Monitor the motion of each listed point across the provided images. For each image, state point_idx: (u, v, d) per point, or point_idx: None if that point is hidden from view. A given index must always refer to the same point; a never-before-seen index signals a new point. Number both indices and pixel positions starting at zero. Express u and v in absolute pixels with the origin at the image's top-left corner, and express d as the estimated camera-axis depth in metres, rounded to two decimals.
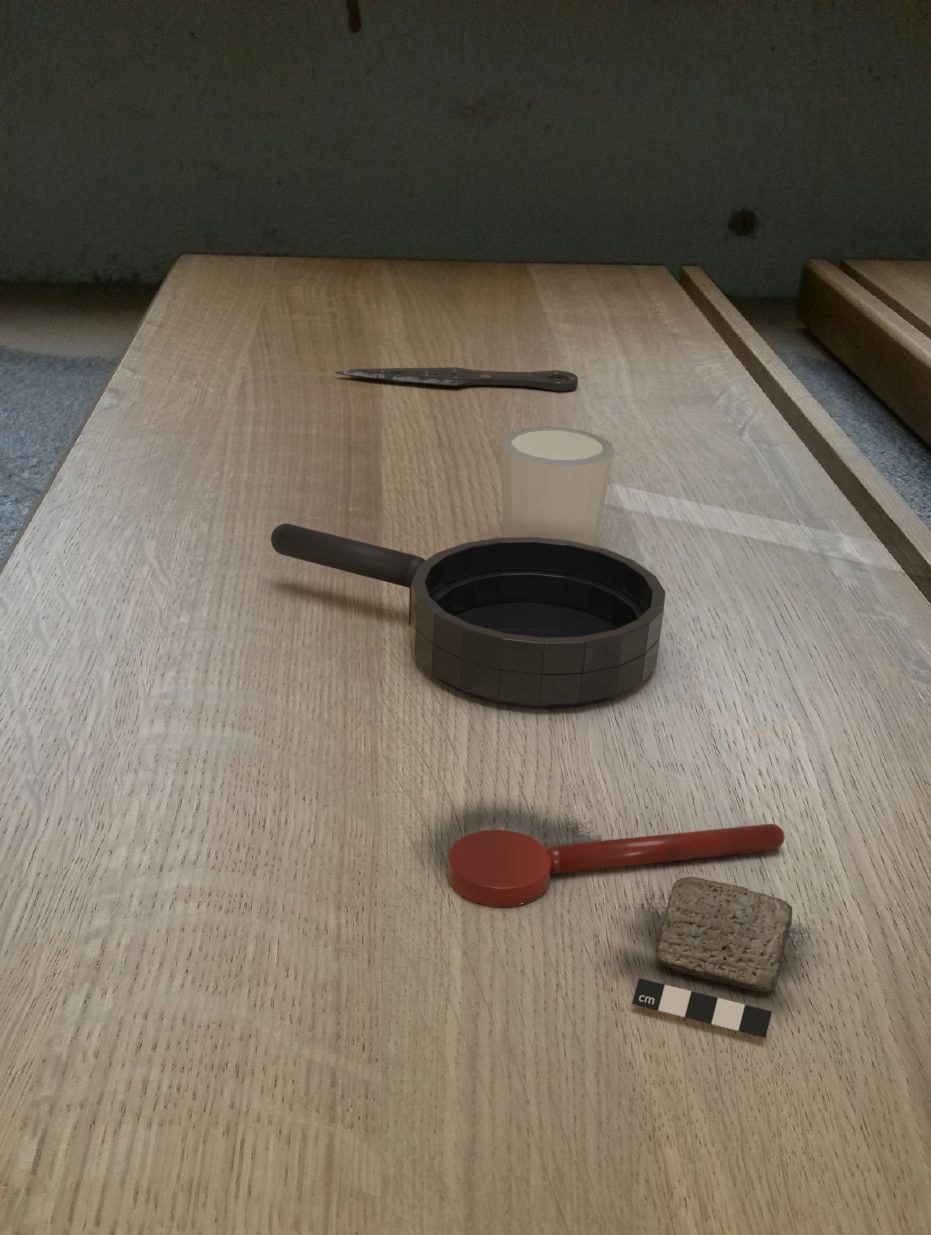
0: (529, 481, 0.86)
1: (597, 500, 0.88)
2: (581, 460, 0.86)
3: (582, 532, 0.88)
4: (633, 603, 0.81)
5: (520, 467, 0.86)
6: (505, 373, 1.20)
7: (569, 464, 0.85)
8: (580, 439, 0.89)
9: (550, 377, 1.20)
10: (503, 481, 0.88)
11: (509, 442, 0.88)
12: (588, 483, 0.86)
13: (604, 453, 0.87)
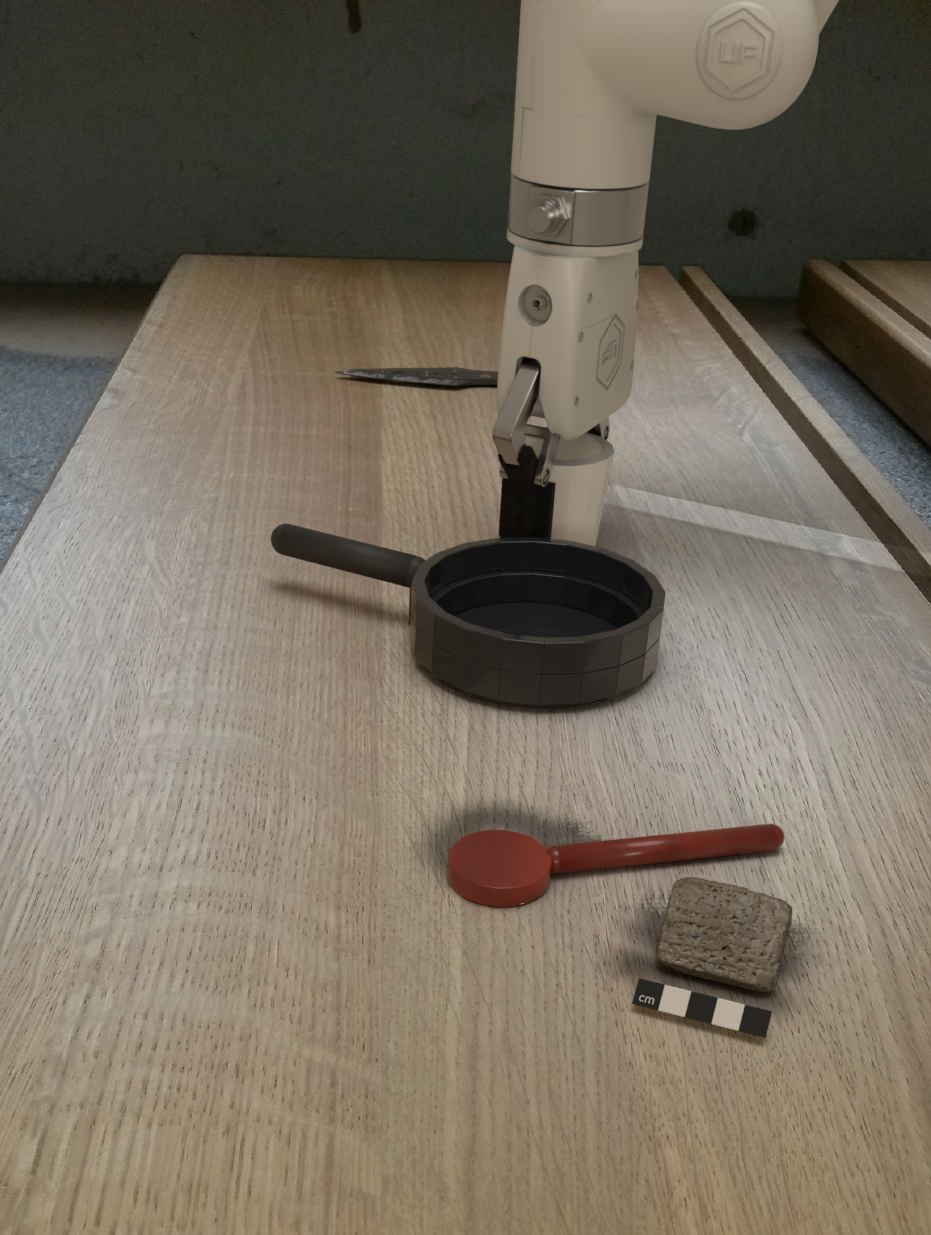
0: None
1: (597, 500, 0.88)
2: (581, 460, 0.86)
3: (582, 532, 0.88)
4: (633, 603, 0.81)
5: None
6: None
7: (569, 464, 0.85)
8: (580, 439, 0.89)
9: None
10: None
11: None
12: (588, 483, 0.86)
13: (604, 453, 0.87)
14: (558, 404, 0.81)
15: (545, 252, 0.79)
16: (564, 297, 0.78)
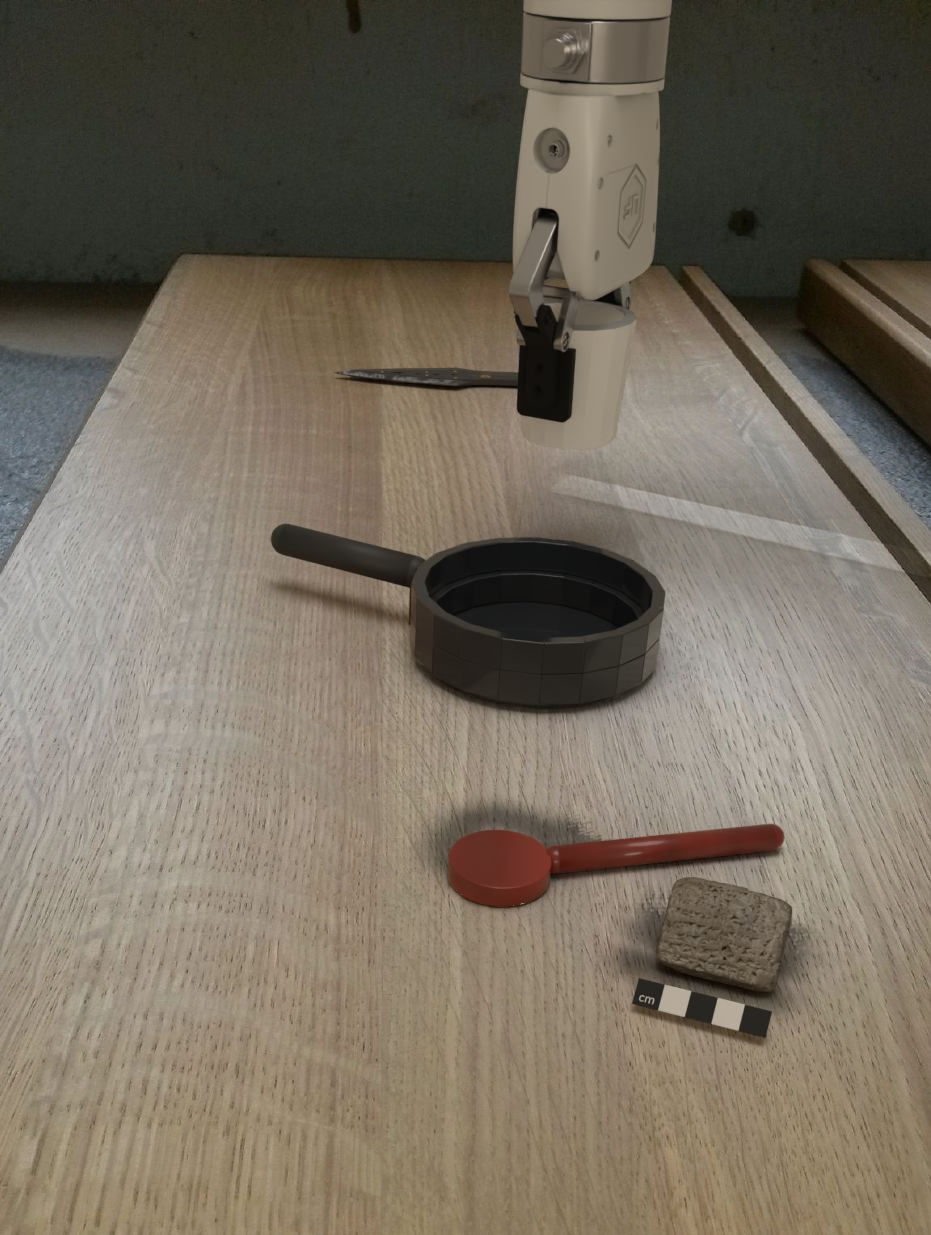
0: None
1: (619, 370, 0.83)
2: (602, 325, 0.81)
3: (604, 405, 0.84)
4: (633, 603, 0.81)
5: None
6: (505, 373, 1.20)
7: (590, 329, 0.81)
8: (600, 309, 0.85)
9: None
10: None
11: None
12: (610, 350, 0.82)
13: (626, 319, 0.82)
14: (578, 258, 0.77)
15: (561, 92, 0.74)
16: (582, 139, 0.74)
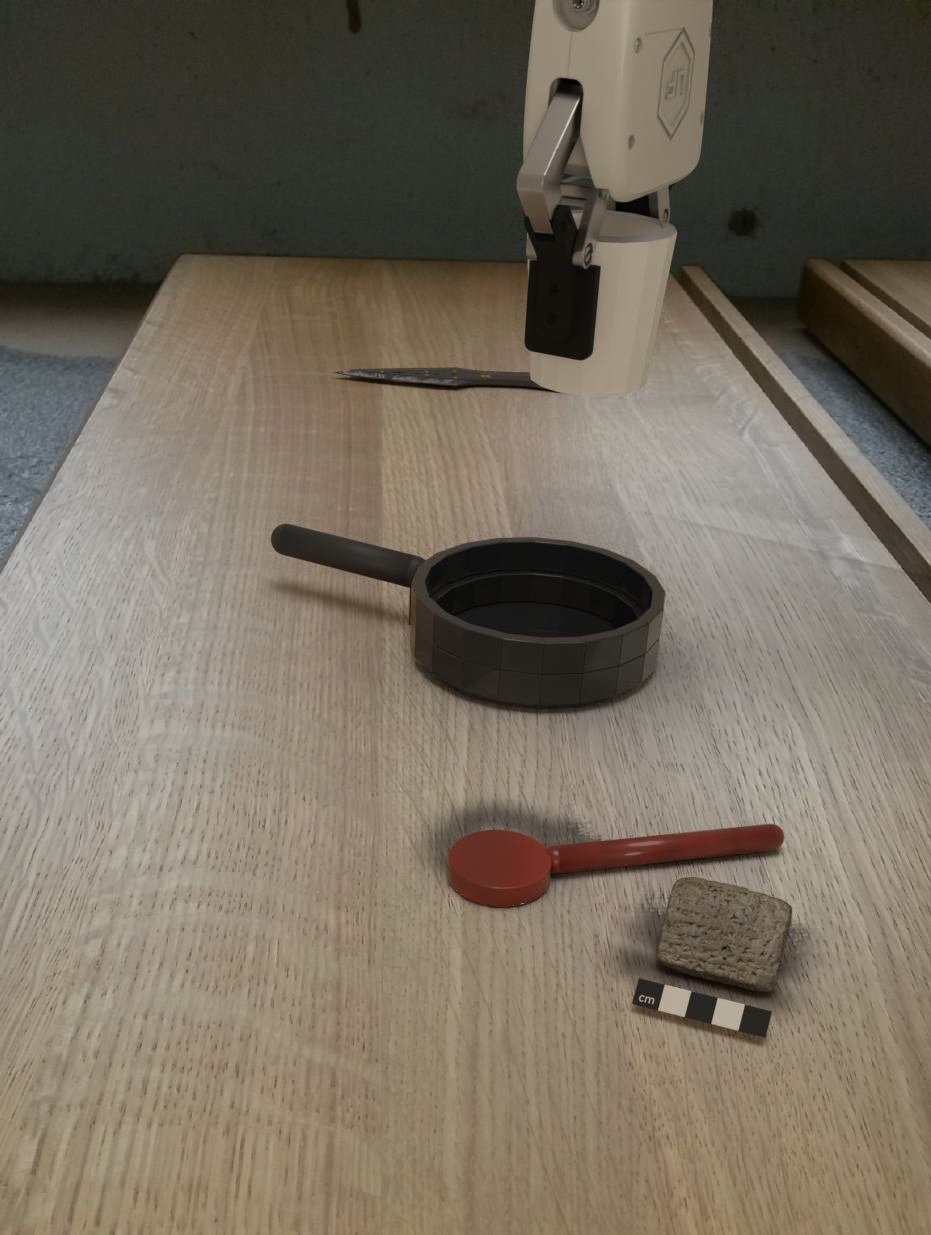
0: None
1: (654, 297, 0.67)
2: (634, 237, 0.64)
3: (633, 341, 0.67)
4: (633, 603, 0.81)
5: None
6: (505, 373, 1.20)
7: (618, 241, 0.64)
8: (631, 221, 0.68)
9: None
10: None
11: None
12: (643, 270, 0.65)
13: (664, 232, 0.66)
14: (606, 144, 0.60)
15: None
16: None
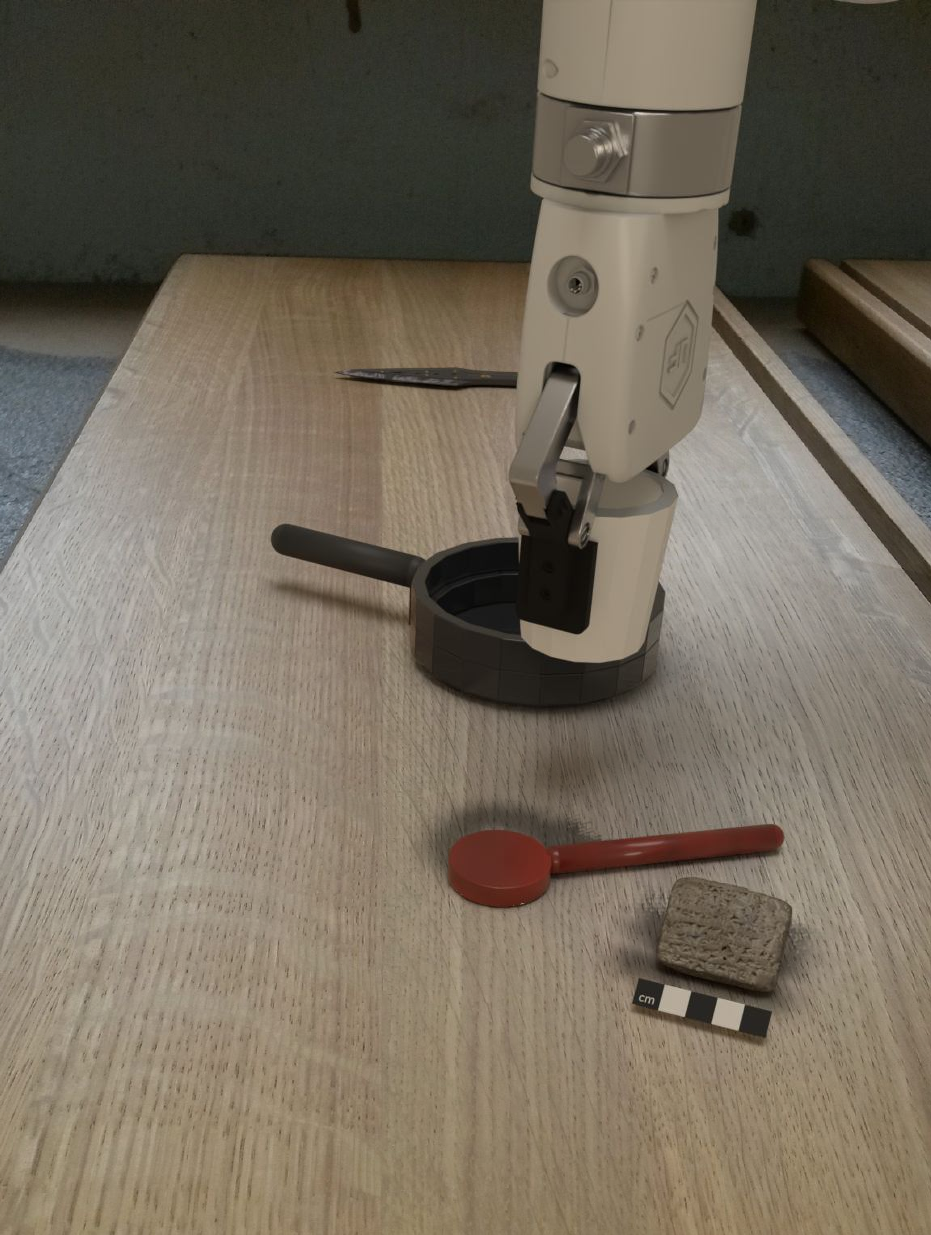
0: None
1: (654, 564, 0.62)
2: (633, 509, 0.60)
3: (632, 608, 0.63)
4: None
5: None
6: (505, 373, 1.20)
7: (616, 515, 0.60)
8: None
9: None
10: None
11: None
12: (642, 541, 0.61)
13: (665, 498, 0.61)
14: (605, 431, 0.56)
15: (589, 207, 0.53)
16: (617, 274, 0.53)
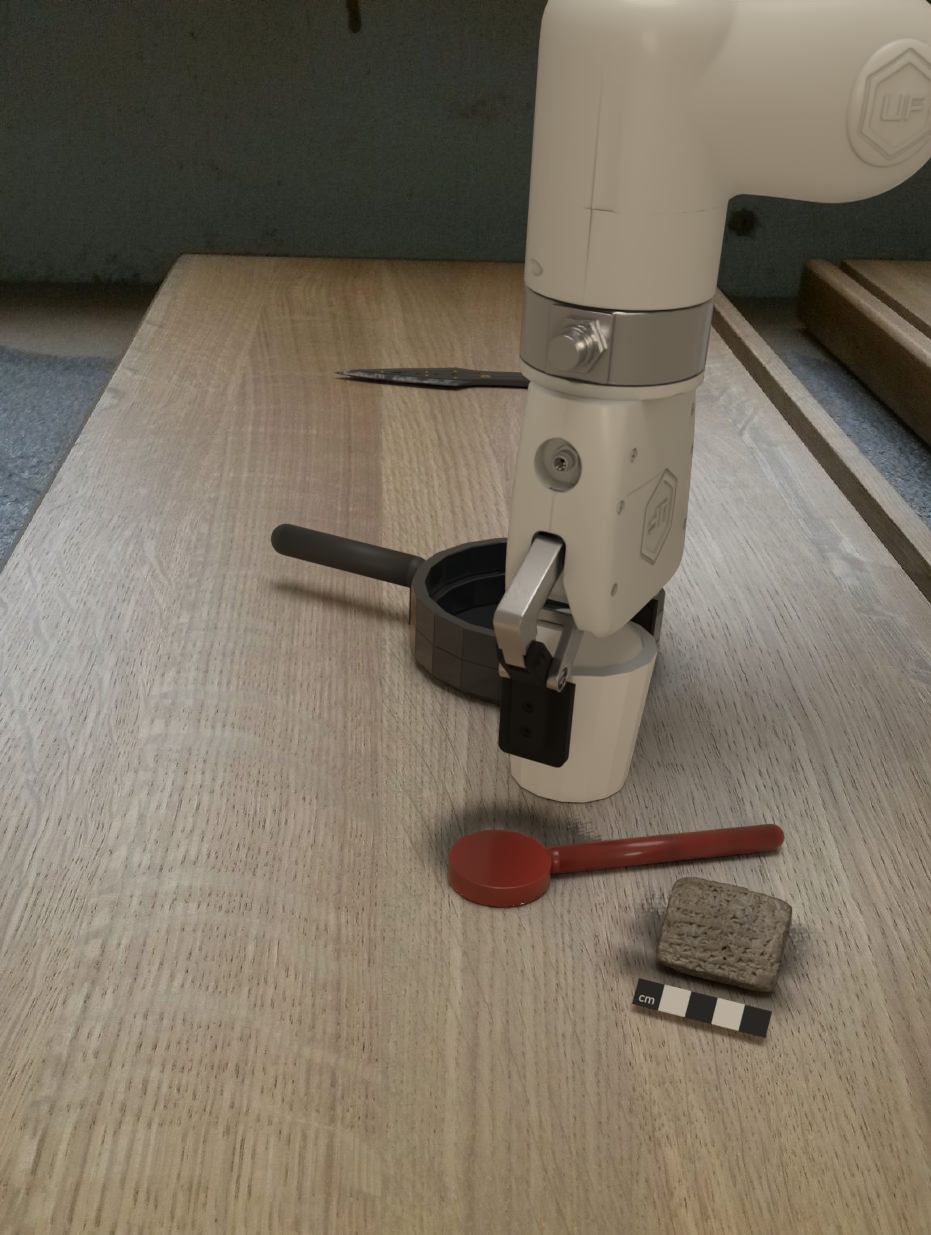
0: None
1: (634, 713, 0.66)
2: (614, 667, 0.64)
3: (614, 754, 0.67)
4: None
5: None
6: (505, 373, 1.20)
7: (599, 674, 0.64)
8: None
9: None
10: None
11: None
12: (623, 695, 0.65)
13: (644, 654, 0.65)
14: (589, 595, 0.59)
15: (572, 393, 0.57)
16: (598, 456, 0.57)
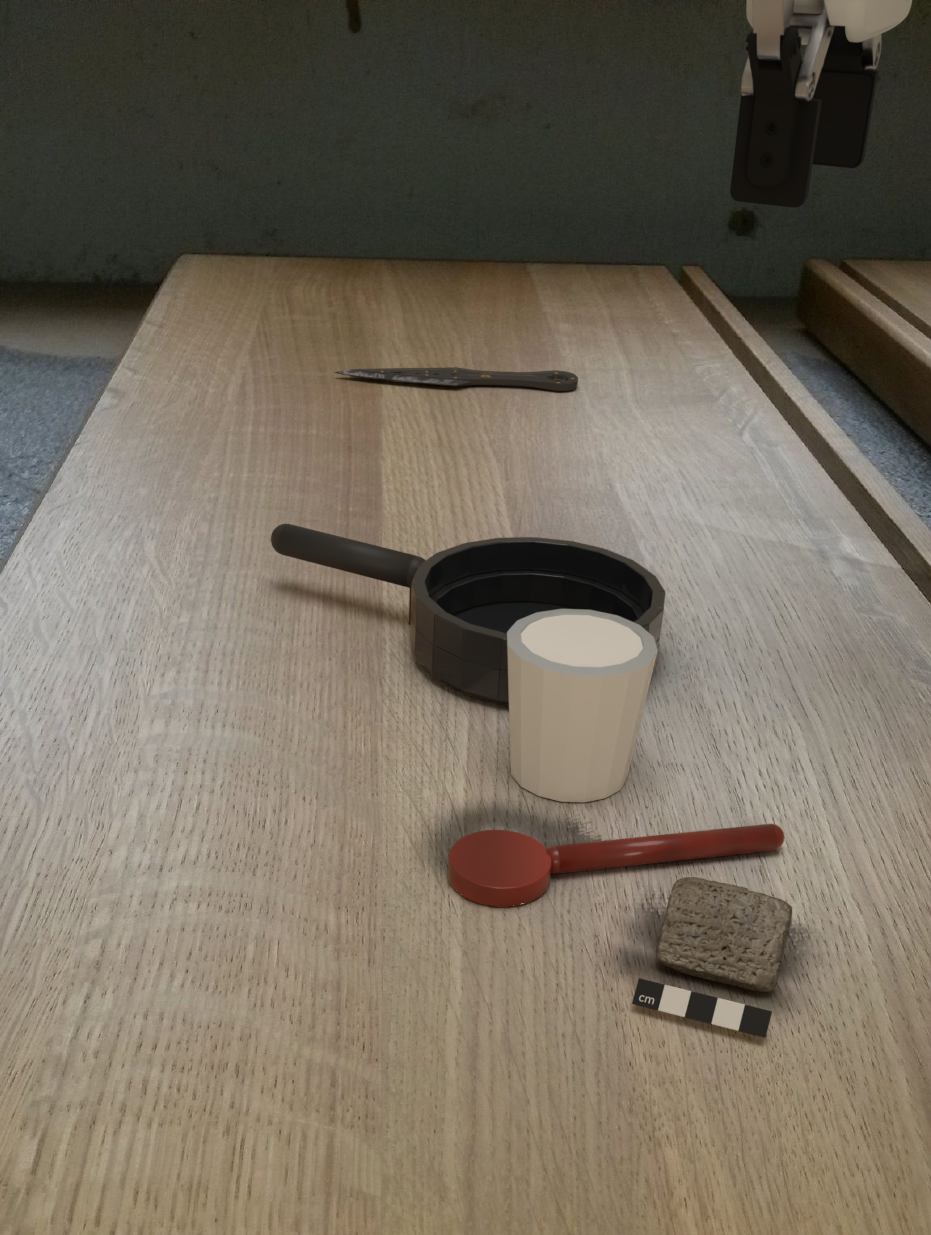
0: (545, 693, 0.65)
1: (634, 713, 0.66)
2: (614, 667, 0.64)
3: (614, 753, 0.67)
4: (633, 603, 0.81)
5: (533, 675, 0.65)
6: (505, 373, 1.20)
7: (599, 674, 0.64)
8: (611, 629, 0.68)
9: (550, 377, 1.20)
10: (510, 686, 0.67)
11: (518, 637, 0.66)
12: (623, 695, 0.65)
13: (644, 654, 0.65)
14: None
15: None
16: None
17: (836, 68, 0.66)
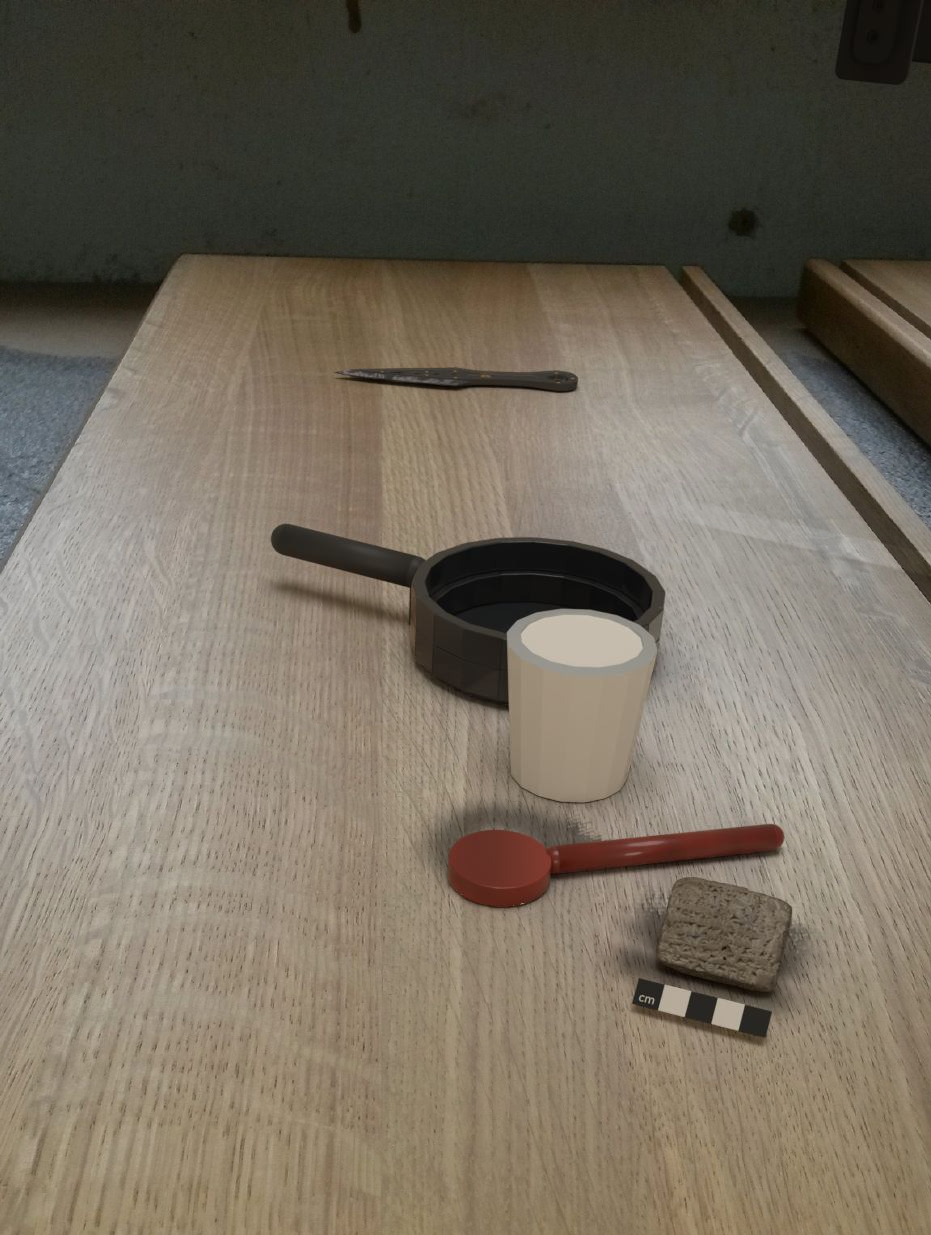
0: (545, 693, 0.65)
1: (634, 713, 0.66)
2: (614, 667, 0.64)
3: (614, 754, 0.67)
4: (633, 603, 0.81)
5: (533, 675, 0.65)
6: (505, 373, 1.20)
7: (598, 674, 0.64)
8: (611, 630, 0.68)
9: (550, 377, 1.20)
10: (510, 686, 0.67)
11: (518, 637, 0.66)
12: (623, 695, 0.65)
13: (644, 654, 0.65)
14: None
15: None
16: None
17: None
